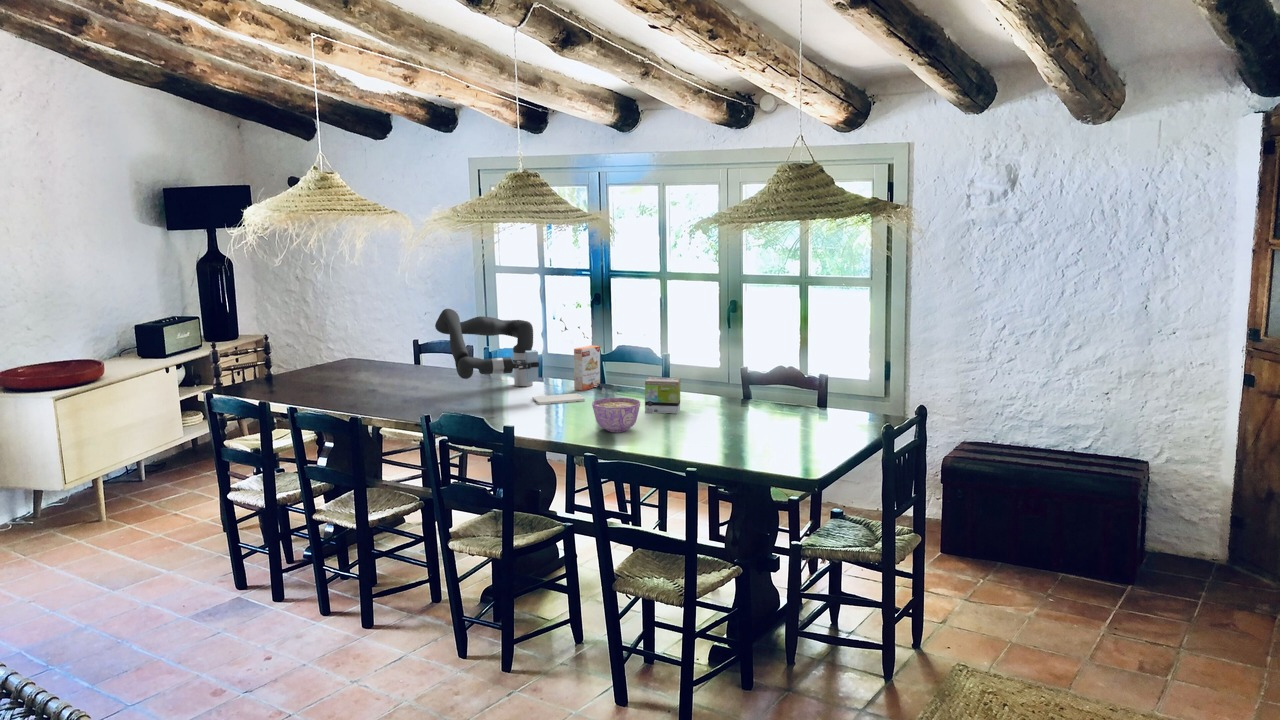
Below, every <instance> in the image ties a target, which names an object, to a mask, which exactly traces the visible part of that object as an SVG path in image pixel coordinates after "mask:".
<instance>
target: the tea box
mask: <svg viewBox="0 0 1280 720" xmlns="http://www.w3.org/2000/svg"><path fill="white" fill-rule="evenodd" d="M680 409H681V378H680V377H656V376H655V377H653V376H652V377H651V376H650V377H649V376H648V377H647V378H646V380H645V381H644V413H645V414H666V413H678V414H679V411H680Z"/></svg>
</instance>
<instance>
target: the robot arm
mask: <svg viewBox="0 0 1280 720" xmlns="http://www.w3.org/2000/svg"><path fill="white" fill-rule="evenodd" d="M434 325H435V326H434V327H435V330H436V331H438V332H439V333H440V334H444V335H449V347H450V351H451V354H452V357H453V359H454V364H455V368H456V372H457V374H458V376H459V377H460V378H461V379H464V380H467V379H470V378H471V377H473V374H474V369H477V370H478V372H479V374H480V375H492V374H493V375H502V374H503V375H504V374H506V375H507V374H512V373H513V380H514V381H513V386H515V387H518V386H527V387H531V386H533V384H534V383H533V382H527V381H526V376H525V369H531V367H538V368H539V367H540V362H539V361H538V362H532V363H530V362H525V351H530V350H533V347H534V327H533V325H532V323H531V322H530V321H527V320H524V319H523V320H522V319H511V320H508V319H506V320H505V319H499V318H496V317H491V316H480V315H479V316H475V317H472V318H470V319H467V320H465V321H460V316H459V314H458V312H456V311H455V310H454V309H452V308H444V309H443V310H442V311H441V312H440V314H439V316H438V318H437V320H436V322H435V324H434ZM463 335H476V336H477V335H478V336H483V337H484V336H485V337H493V336H498V335H499V336H500V335H502V336H509V337H512V338H513V337H514V338H515V339H517V340H516V341H517V343H516V344H515V345H514V346H513V348H512V350H513V351H512V352H513V353H512V354H513V355H512V356H513V359H512V357H510V356H506V357H503V356H502V357H494V358H480V357H474V356H470V355H469V351H468V348H467V346H466V343H465V341H464V337H463ZM526 365H528V367H526Z"/></svg>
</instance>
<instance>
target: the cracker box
mask: <svg viewBox="0 0 1280 720" xmlns="http://www.w3.org/2000/svg"><path fill="white" fill-rule="evenodd" d="M573 372H574V373H573V376H574V377H573V385H574V389H573V390H575V391H580V390H581V391H580V392H583V391H587V390H592V389H594V388H593V387H594V386H598V385H594V384H597V383H599V384H600V385H601V346H599V345H586V346H581V347H576V348H573ZM591 388H592V389H591Z"/></svg>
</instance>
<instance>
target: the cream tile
mask: <svg viewBox="0 0 1280 720" xmlns="http://www.w3.org/2000/svg"><path fill="white" fill-rule="evenodd" d="M531 399H533V400H532V401H534V402H535V401H536V402H537V403H538V404H537V403H536V402H535V403H536V404H537V405H539V404H544V405H552V404H551V403H556V404H566V402H568V403H577V402H576V401H579V402H586V401H585V399H586V398H585V397H583V396H581V395H580V394H579V393H567V394H566V393H565V394H552V395H541V396H532V397H531Z"/></svg>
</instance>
